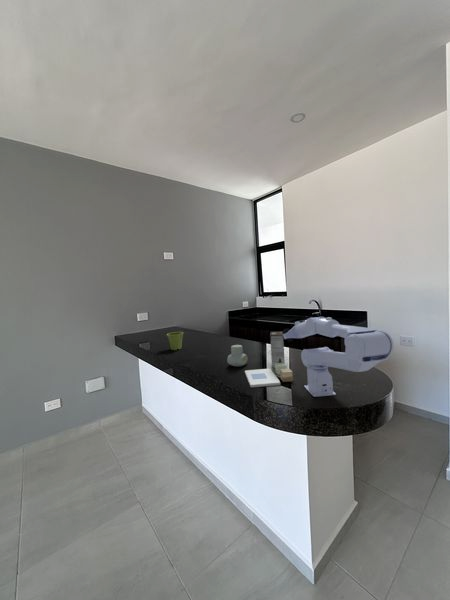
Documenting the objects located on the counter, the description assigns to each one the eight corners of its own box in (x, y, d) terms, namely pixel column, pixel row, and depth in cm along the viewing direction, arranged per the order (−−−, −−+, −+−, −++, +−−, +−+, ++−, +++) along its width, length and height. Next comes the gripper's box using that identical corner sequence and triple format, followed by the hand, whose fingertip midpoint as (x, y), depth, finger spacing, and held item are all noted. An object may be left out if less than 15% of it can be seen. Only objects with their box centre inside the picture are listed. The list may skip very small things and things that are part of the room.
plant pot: (164, 349, 178) (163, 334, 177) (178, 346, 186) (177, 331, 185) (173, 352, 169) (172, 335, 168) (187, 348, 177) (186, 332, 176)
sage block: (286, 374, 112) (286, 365, 112) (277, 374, 112) (277, 365, 112) (284, 371, 116) (283, 362, 116) (275, 371, 116) (275, 363, 116)
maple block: (292, 381, 103) (292, 371, 103) (283, 382, 103) (282, 372, 103) (289, 377, 107) (289, 368, 107) (280, 378, 107) (280, 369, 107)
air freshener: (240, 369, 123) (239, 349, 123) (225, 367, 127) (224, 348, 127) (249, 362, 133) (248, 344, 132) (235, 361, 137) (234, 343, 136)
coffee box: (272, 362, 131) (270, 331, 131) (284, 361, 130) (282, 331, 129) (271, 367, 122) (269, 334, 122) (285, 367, 121) (283, 334, 120)
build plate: (280, 384, 100) (280, 382, 100) (250, 387, 99) (250, 384, 99) (270, 370, 118) (270, 368, 118) (244, 372, 117) (244, 370, 117)
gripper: (317, 313, 101) (302, 319, 114) (285, 325, 98) (274, 330, 111) (324, 330, 100) (308, 334, 113) (292, 342, 96) (280, 345, 109)
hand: (292, 333), depth 112 cm, fingers open, 7 cm apart
